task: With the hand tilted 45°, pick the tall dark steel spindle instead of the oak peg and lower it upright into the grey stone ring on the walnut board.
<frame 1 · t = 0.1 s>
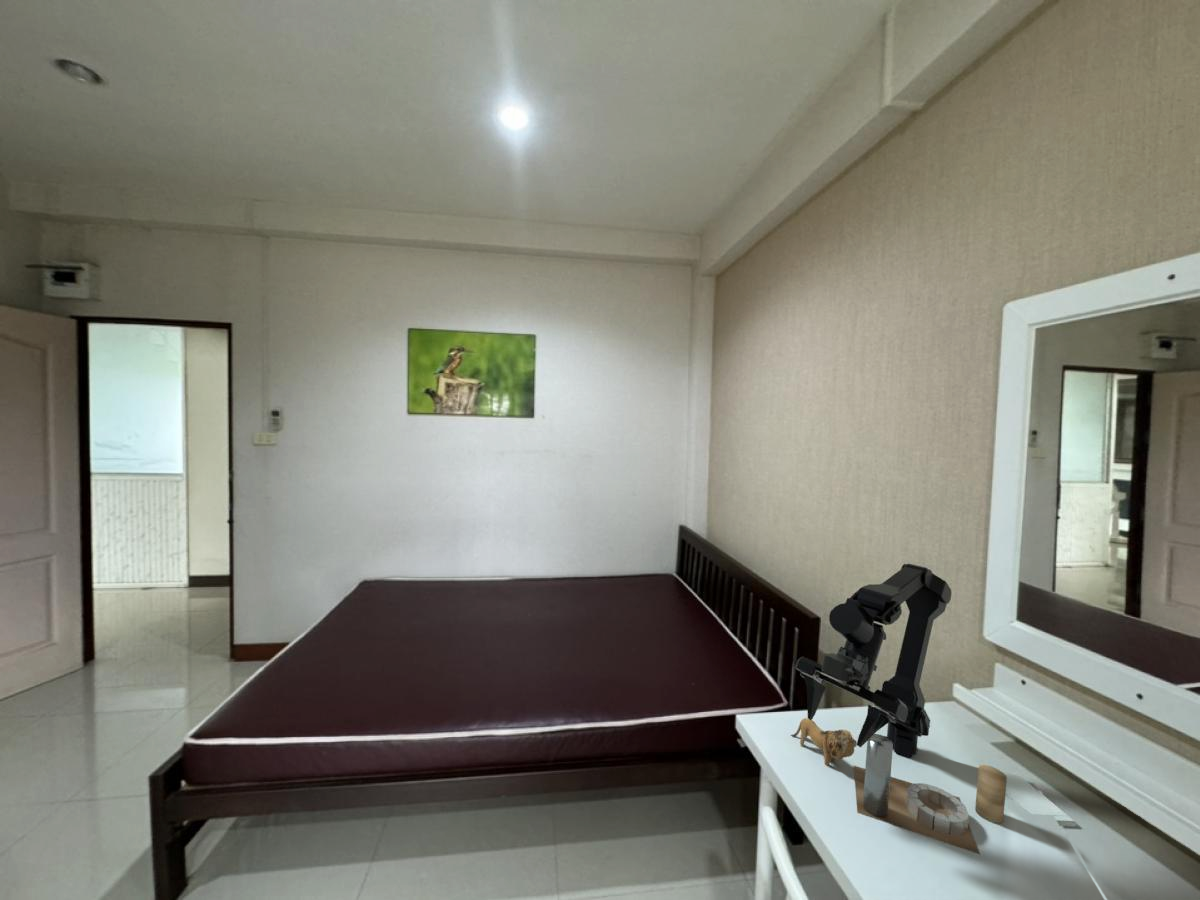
hand: (833, 732, 88), 15 cm above the table, tool tilted 35°, fingers open, 9 cm apart
walnut board: (909, 809, 90), on the table
steel spindle: (875, 809, 88), point 1 cm above the table, touching walnut board
grey stone ring: (935, 814, 88), resting on walnut board
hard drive: (1023, 803, 94), on the table
lion figurine: (821, 759, 103), on the table
oak peg: (988, 819, 88), on the table
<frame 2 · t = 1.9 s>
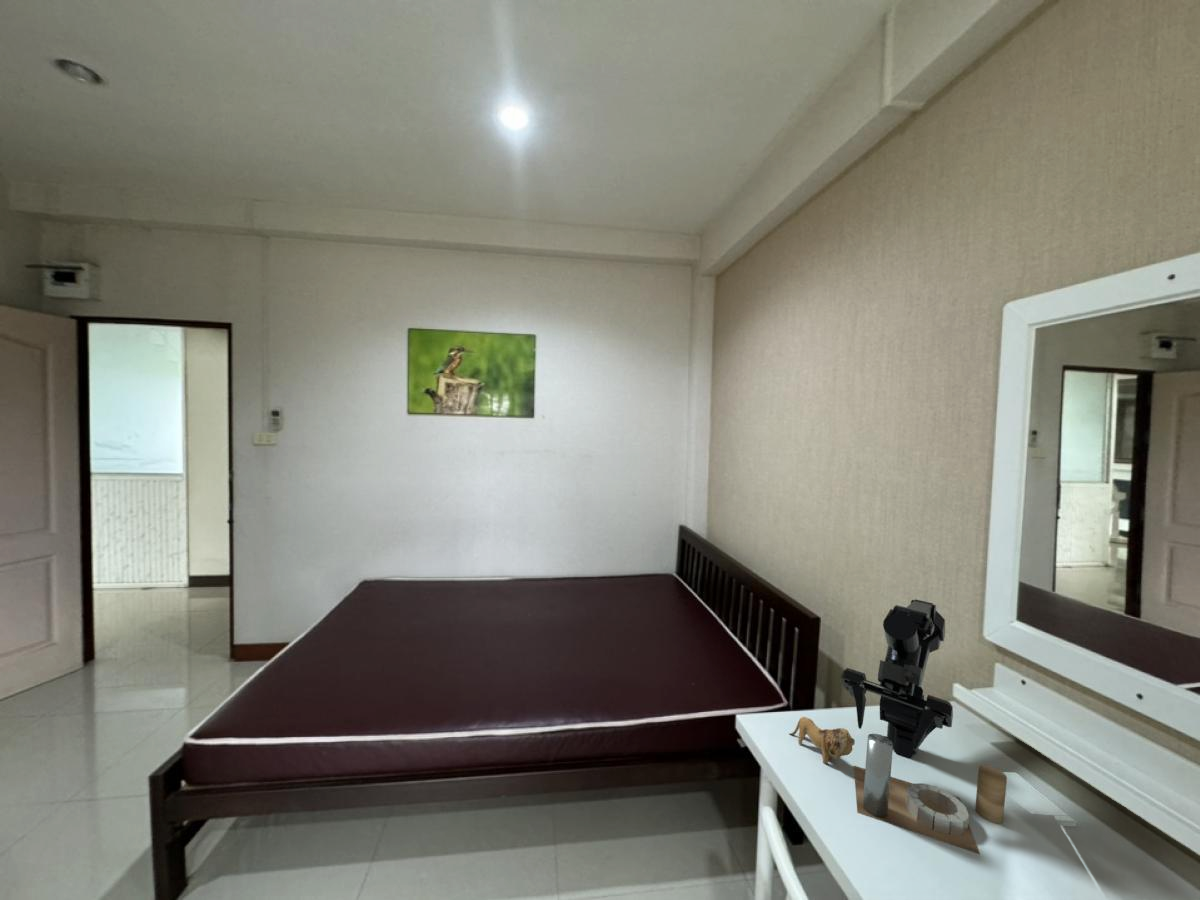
hand: (886, 738, 92), 12 cm above the table, tool tilted 45°, fingers open, 9 cm apart
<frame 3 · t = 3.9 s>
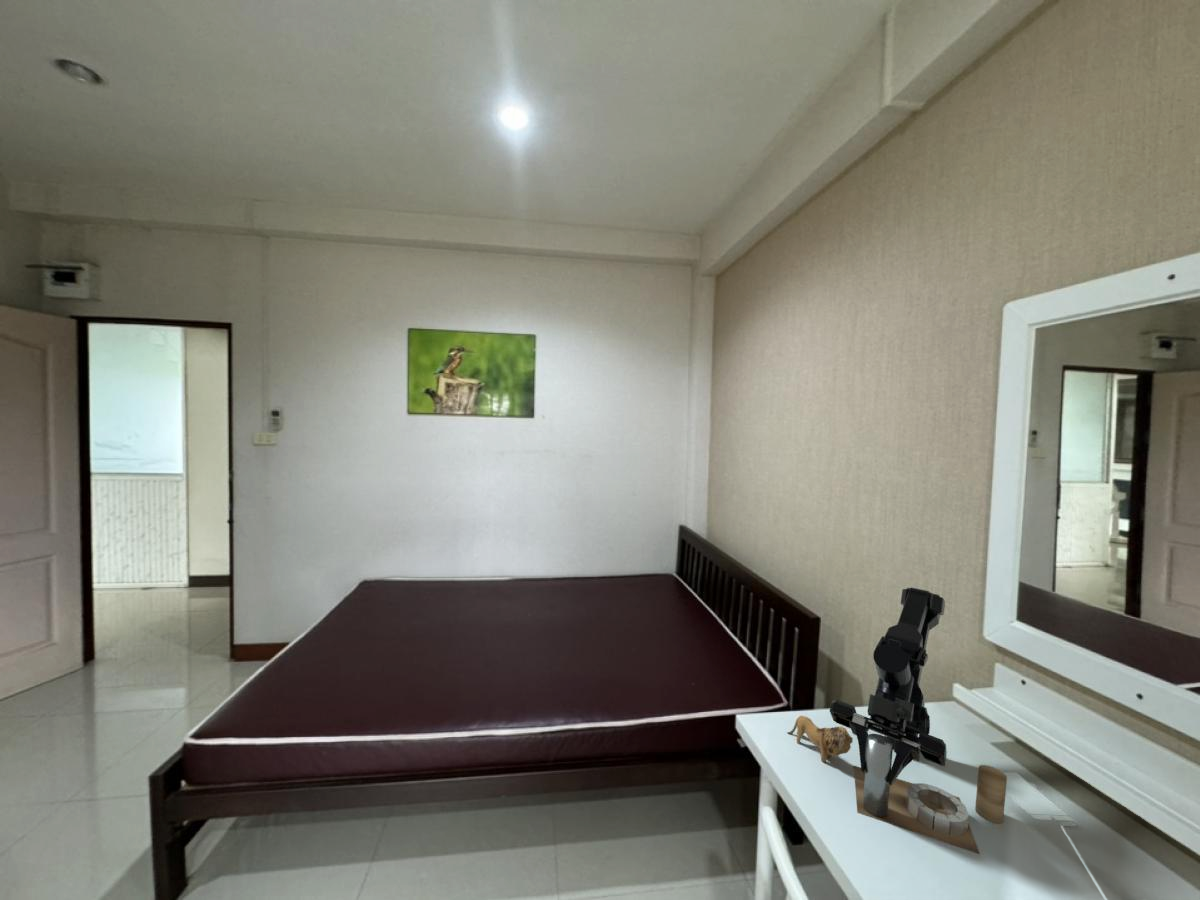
hand: (875, 777, 87), 8 cm above the table, tool tilted 45°, fingers closed on steel spindle, 4 cm apart
steel spindle: (875, 809, 88), point 1 cm above the table, touching gripper, walnut board
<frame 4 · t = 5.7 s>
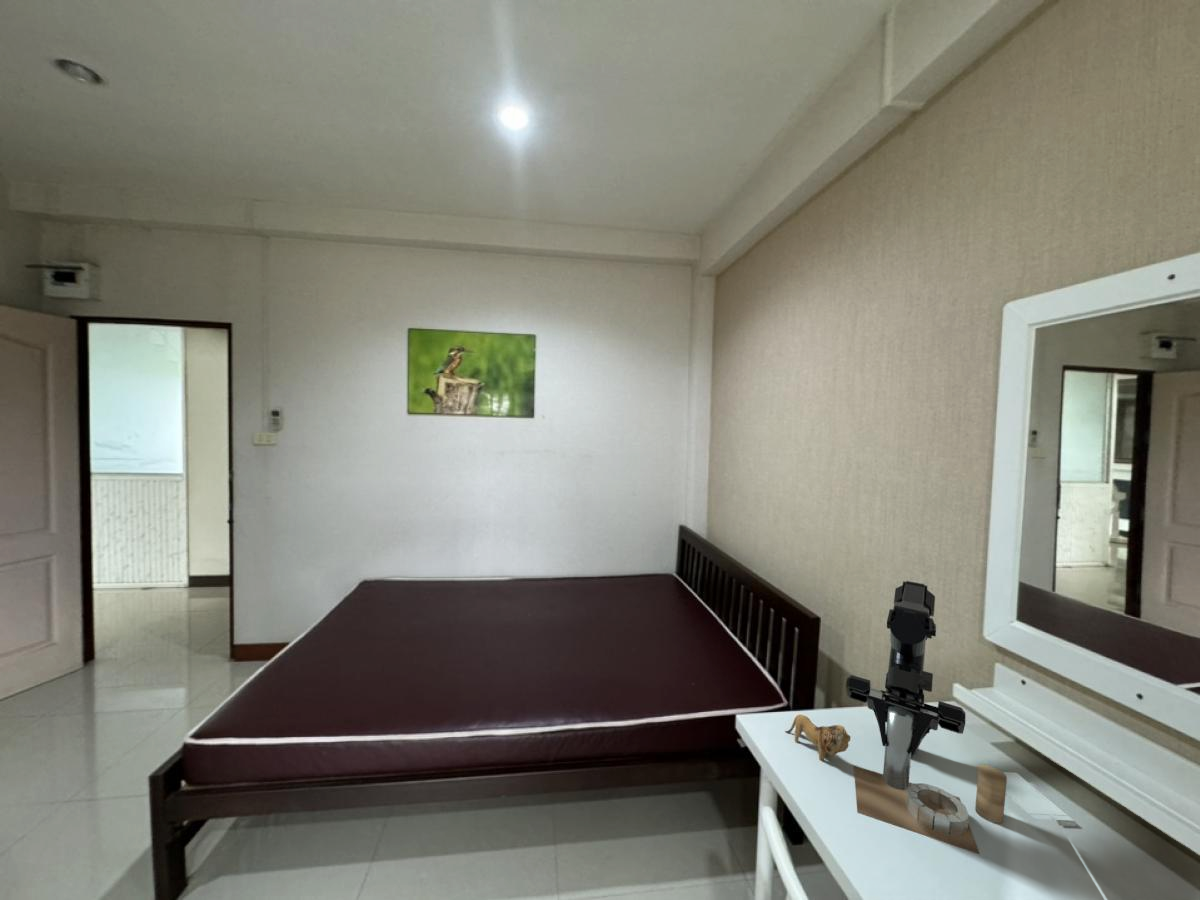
hand: (897, 750, 86), 13 cm above the table, tool tilted 45°, fingers closed on steel spindle, 4 cm apart
steel spindle: (895, 781, 88), point 7 cm above the table, touching gripper
when the fingers open (9 cm above the table, at t = 7.7 s): steel spindle drops 1 cm, resting on walnut board.
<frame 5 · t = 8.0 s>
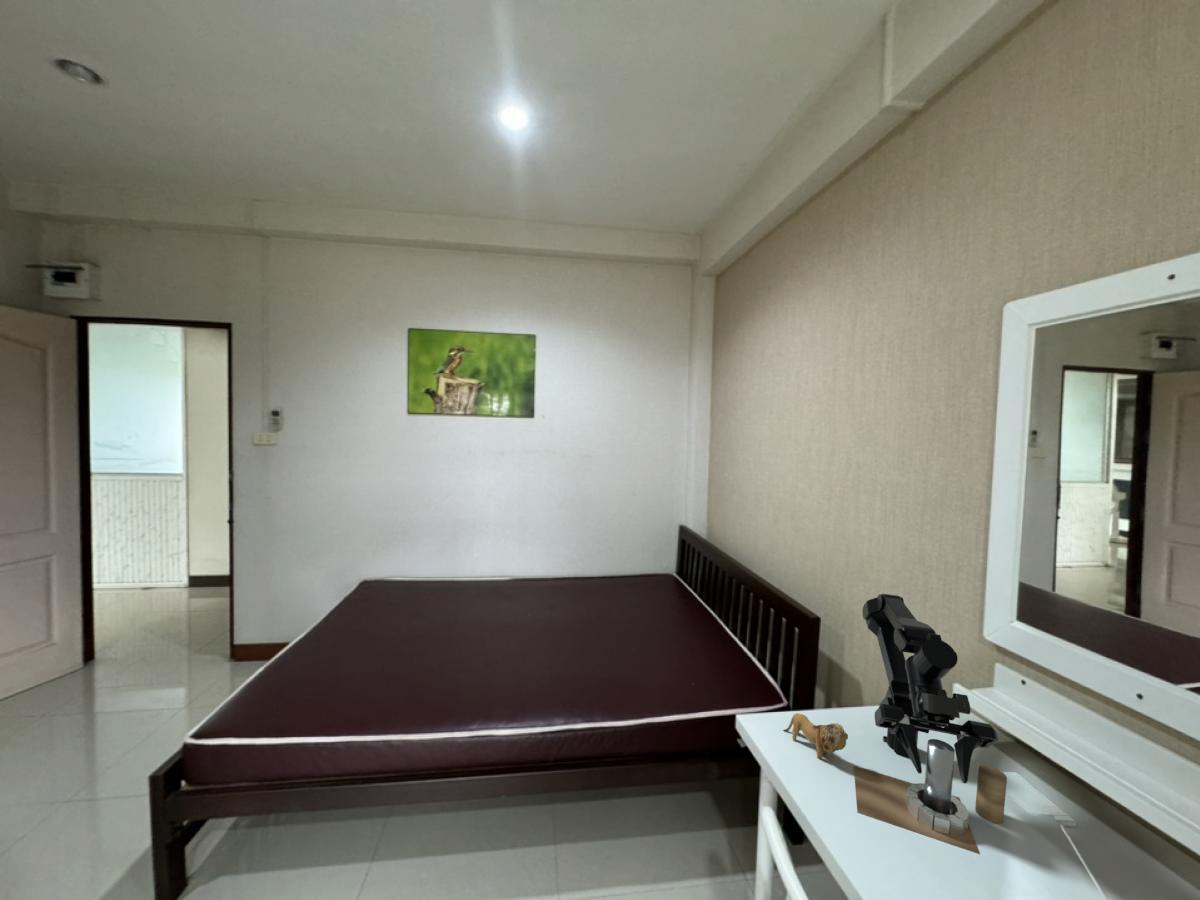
hand: (942, 777, 86), 9 cm above the table, tool tilted 45°, fingers open, 7 cm apart
steel spindle: (935, 814, 88), point 1 cm above the table, touching walnut board
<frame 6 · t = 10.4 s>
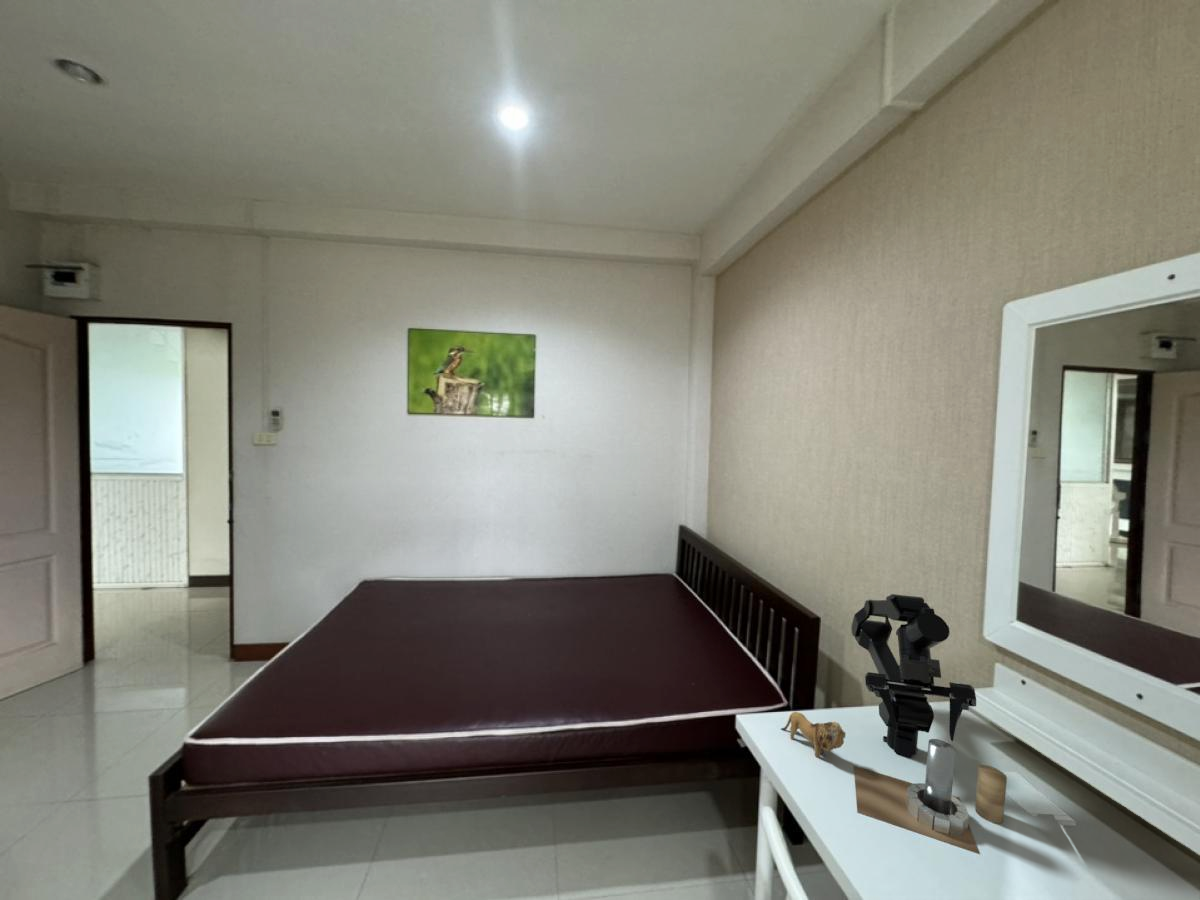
hand: (923, 735, 94), 11 cm above the table, tool tilted 35°, fingers open, 9 cm apart
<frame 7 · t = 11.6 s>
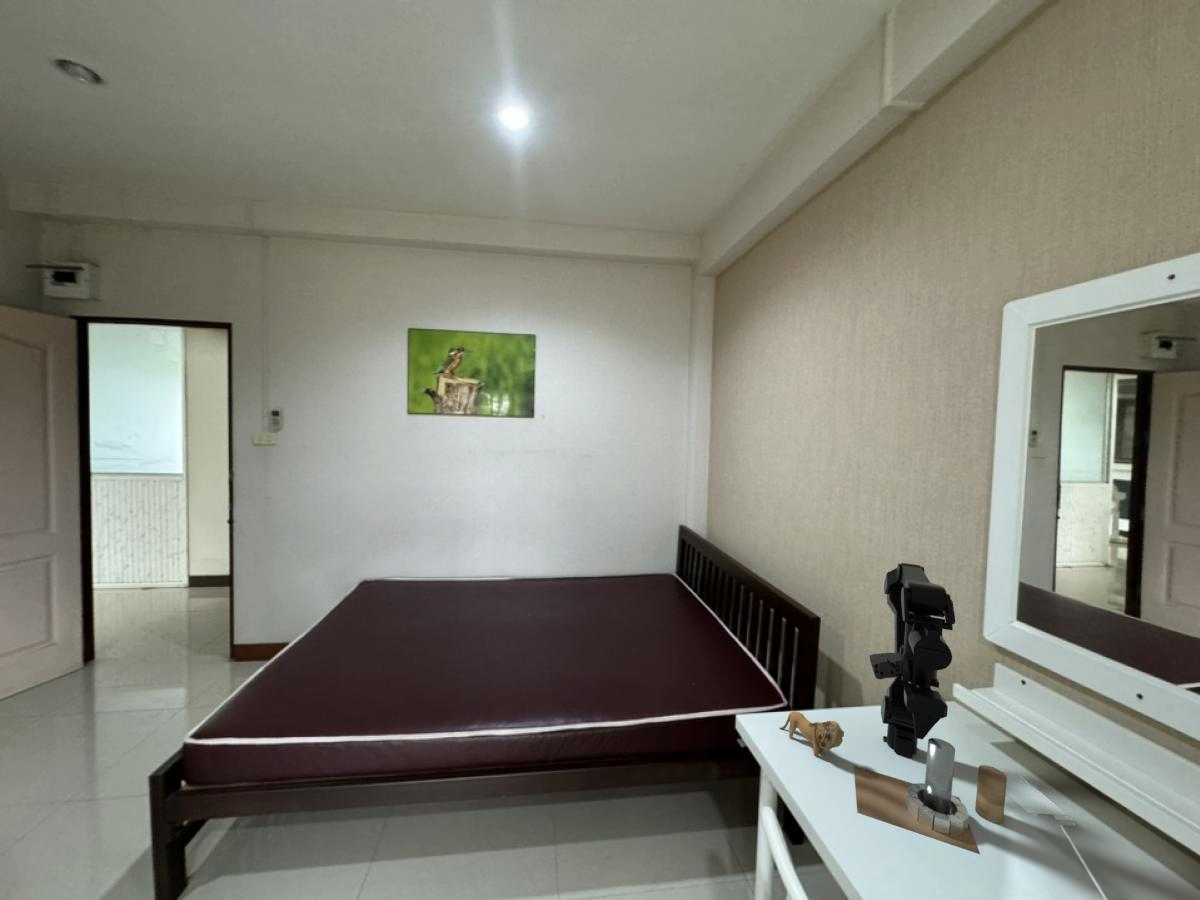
hand: (915, 725, 95), 13 cm above the table, tool pointing down, fingers open, 9 cm apart
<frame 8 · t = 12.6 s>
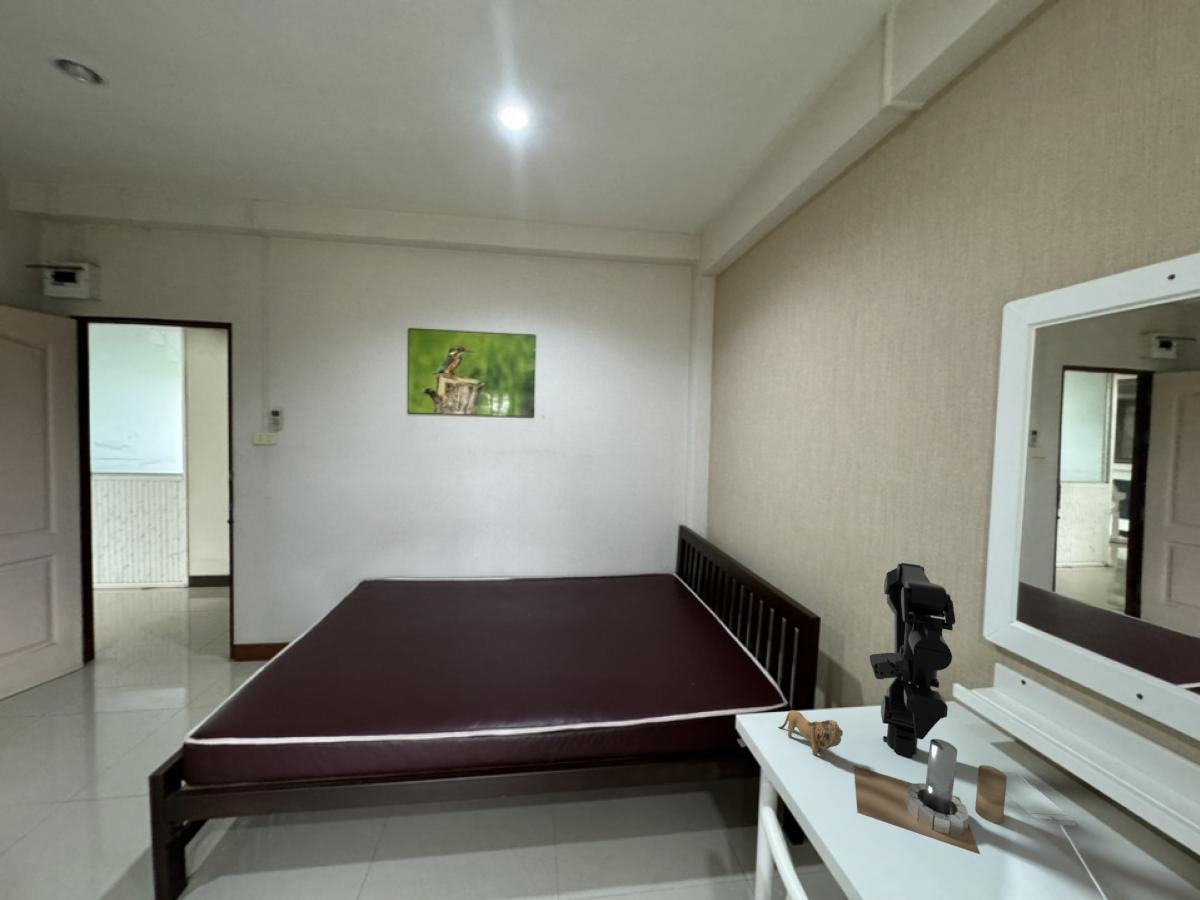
hand: (915, 725, 95), 13 cm above the table, tool pointing down, fingers open, 9 cm apart
at the end: steel spindle 0.1 cm off-centre on the grey stone ring, point 0.1 cm above the grey stone ring's base; steel spindle tilted 1°; the gripper is holding nothing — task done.
